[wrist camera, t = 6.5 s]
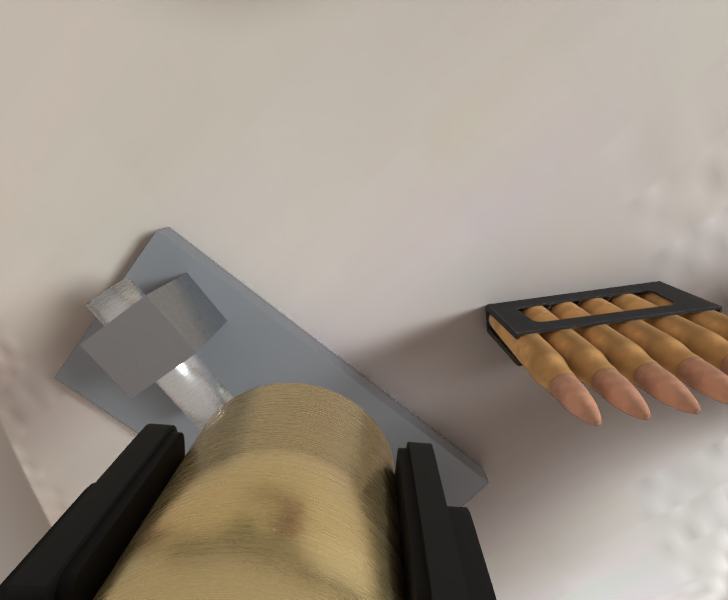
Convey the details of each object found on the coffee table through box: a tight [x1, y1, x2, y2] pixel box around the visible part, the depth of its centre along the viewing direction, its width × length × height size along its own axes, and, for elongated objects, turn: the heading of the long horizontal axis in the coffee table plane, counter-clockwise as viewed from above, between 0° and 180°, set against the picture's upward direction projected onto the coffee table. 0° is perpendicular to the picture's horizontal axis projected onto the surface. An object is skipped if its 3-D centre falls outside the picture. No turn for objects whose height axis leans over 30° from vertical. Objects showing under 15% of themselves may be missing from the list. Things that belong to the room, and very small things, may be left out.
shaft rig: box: [55, 227, 488, 507], centre depth 26 cm, size 26×12×6 cm, turn 50°
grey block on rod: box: [80, 273, 234, 431], centre depth 24 cm, size 9×4×5 cm, turn 35°
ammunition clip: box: [486, 281, 728, 426], centre depth 21 cm, size 11×2×12 cm, turn 98°
